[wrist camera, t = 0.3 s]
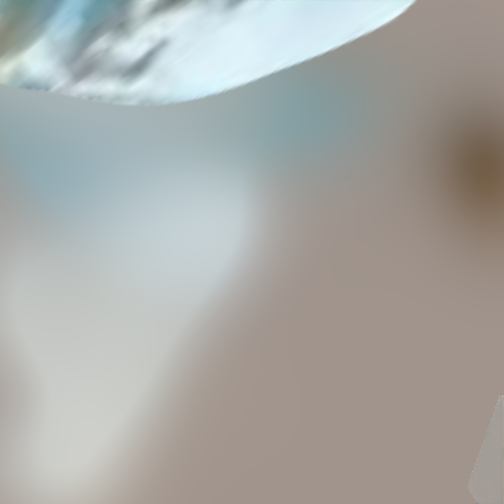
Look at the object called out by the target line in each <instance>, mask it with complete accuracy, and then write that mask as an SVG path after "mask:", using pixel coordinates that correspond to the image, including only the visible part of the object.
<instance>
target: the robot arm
mask: <svg viewBox="0 0 504 504" xmlns="http://www.w3.org/2000/svg"><path fill="white" fill-rule="evenodd" d="M467 487H468V489H469V491H470V492H471V494H472V496H473V497H474V499H475V501H476V503H477V504H504V395H500V396H499V399H498V402H497V405H496V407H495V410H494V413H493V416H492V419H491V421H490V424H489V427H488V430H487V433H486V435H485V438H484V441H483V444H482V447H481V449H480V452H479V455H478V458H477V461H476V463H475V466H474V469H473V472H472V475H471V477H470V480H469V483H468V486H467Z"/></svg>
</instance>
